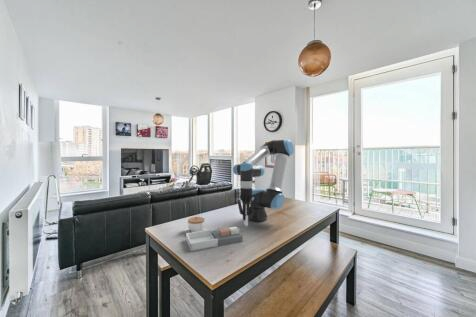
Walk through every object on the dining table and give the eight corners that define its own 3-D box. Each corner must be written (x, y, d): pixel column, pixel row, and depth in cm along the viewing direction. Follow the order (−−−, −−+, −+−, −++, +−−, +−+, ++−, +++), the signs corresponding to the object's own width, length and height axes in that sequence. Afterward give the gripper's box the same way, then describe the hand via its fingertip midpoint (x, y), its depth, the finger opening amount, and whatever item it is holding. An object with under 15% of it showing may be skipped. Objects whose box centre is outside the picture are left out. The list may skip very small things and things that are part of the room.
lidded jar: (207, 229, 134) (207, 215, 134) (196, 235, 125) (196, 220, 125) (195, 226, 140) (195, 213, 139) (184, 232, 130) (184, 217, 130)
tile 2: (235, 230, 125) (235, 226, 125) (239, 233, 121) (239, 229, 121) (228, 231, 123) (228, 227, 123) (231, 234, 119) (231, 230, 119)
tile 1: (226, 231, 123) (226, 227, 123) (229, 234, 118) (229, 230, 118) (219, 233, 121) (219, 229, 121) (221, 236, 116) (221, 232, 116)
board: (233, 232, 130) (233, 227, 130) (242, 241, 117) (242, 236, 117) (211, 236, 124) (211, 231, 124) (218, 245, 111) (218, 240, 111)
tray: (210, 235, 124) (210, 229, 124) (217, 246, 110) (217, 239, 110) (186, 239, 118) (186, 233, 118) (190, 251, 105) (190, 243, 104)
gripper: (252, 186, 131) (252, 222, 131) (234, 187, 125) (233, 224, 126) (258, 187, 124) (257, 225, 124) (239, 189, 119) (238, 228, 119)
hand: (245, 225), depth 125 cm, fingers closed
